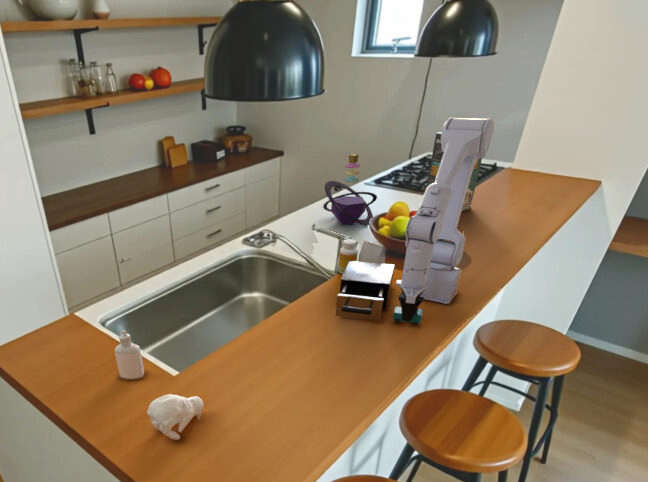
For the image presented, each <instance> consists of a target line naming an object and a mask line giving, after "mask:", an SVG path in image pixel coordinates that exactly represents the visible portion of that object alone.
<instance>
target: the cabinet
mask: <svg viewBox="0 0 648 482" xmlns="http://www.w3.org/2000/svg"><path fill="white" fill-rule="evenodd" d="M395 267H396V264H392V263H384V264H381V263H370V262H358V260H357V261H349V263H348V265H347V267H346V270H345V272H344V274H342V276H341V278H340V287H339V294H341V292H342V290H343V288H344V285H345V283H346V282H349V283H359V284H369V285H379V286H385V291H384V298H383V299H384V300H383V306H382V311H386V310H387V306H388V304H389V303H388V302H389V299H390V295H391V294H390V293H391V291H392V284H393V278H394V272H395Z"/></svg>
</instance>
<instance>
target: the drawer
mask: <svg viewBox="0 0 648 482" xmlns="http://www.w3.org/2000/svg"><path fill="white" fill-rule="evenodd" d="M384 291H385V286H379V285H369V284H359V283H349V282H346V283H345V285H344V288H343V290H342V292H341V294H340V293H337V294H336V307H335V316H336V317H342V318H350V319H358V320H366V321H376V322H381V318H382V313H383V310H382V306H383V300H384V299H383V298H384Z"/></svg>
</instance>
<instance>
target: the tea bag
mask: <svg viewBox="0 0 648 482" xmlns="http://www.w3.org/2000/svg"><path fill="white" fill-rule="evenodd" d="M357 261H358V262H370V263H381V264H386V263H385V262H386V252H385V245H383V244H379V243H376V242H373V241H368V240H363V243H362V245H361V249H360V251H359V252H358V257H357Z"/></svg>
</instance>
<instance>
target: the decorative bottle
mask: <svg viewBox="0 0 648 482" xmlns="http://www.w3.org/2000/svg"><path fill="white" fill-rule="evenodd" d="M359 157H360V155H359V154H357V153H350V154H349V155H348V163H347V164H346V165H345V168H346V169H347V170H346V171H345V172H344V175H346V177H345V178H344V179H343V181H344V182H347V183H348V182H349V183H354V182H358V181H359V180H360V178H358V177H357V176H358V175H359V174H360V171H359V170H357V168H360V167H361V165H360V163H358V162H359V160H358V159H359ZM334 187H341V188H343V189H344V190H346V191H348V192H347V193H343V194H340V195H336V196H335V197H333V194H332V188H334ZM324 192H325V194H326V197H327V199H328V200H327V201H326V202H324V203H323V206H322V209H324V210H325V211H327V212H330V213H332V214H333V216H334V217H335V219H336V220H337V222H338V223H340V224H341V225H342V226H347V225H349V226H351V225H355V224H358V225H361V226H370V225H369V221H370V219H371V218H373V219H374V215H373V212H372V210H371V208H370V206H371V205H372V204H374V203H375V202H376V201H377V199H378V195H377V194H375V193H373V192H370V191H369V192H368V191H355V189H353V188H352V187H351V186H348V185H347V184H345V183H343V182H340V181H336V180H328V181H327V182H325V184H324ZM353 195H354V196H353ZM362 195H368V196H371V197H372V199H371V201H370V202H368V203H367V202H366V200H365V199H364V198H363V196H362ZM329 203H331V209H330V208H328V204H329ZM365 212H366V214H367V216H366V218H365V219H360V218H361V217H362V215H363V214H365Z"/></svg>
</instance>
